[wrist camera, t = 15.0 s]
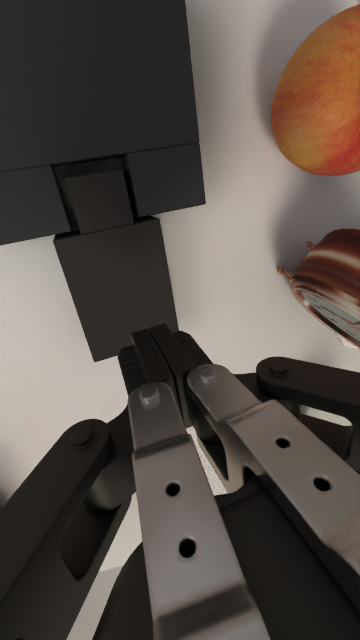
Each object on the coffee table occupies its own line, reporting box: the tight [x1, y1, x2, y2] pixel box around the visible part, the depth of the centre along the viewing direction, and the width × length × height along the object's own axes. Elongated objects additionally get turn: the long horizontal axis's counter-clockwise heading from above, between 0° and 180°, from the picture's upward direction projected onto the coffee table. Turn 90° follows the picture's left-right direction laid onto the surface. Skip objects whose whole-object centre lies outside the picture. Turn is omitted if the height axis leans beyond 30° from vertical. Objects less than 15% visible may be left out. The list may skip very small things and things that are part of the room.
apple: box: [271, 4, 360, 176], centre depth 16 cm, size 7×7×8 cm
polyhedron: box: [337, 335, 359, 349], centre depth 28 cm, size 3×3×3 cm
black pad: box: [53, 169, 179, 362], centre depth 19 cm, size 6×11×2 cm, turn 9°
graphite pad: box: [0, 0, 206, 245], centre depth 15 cm, size 12×10×2 cm
